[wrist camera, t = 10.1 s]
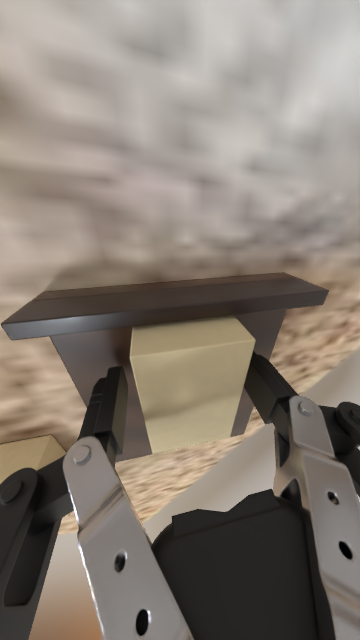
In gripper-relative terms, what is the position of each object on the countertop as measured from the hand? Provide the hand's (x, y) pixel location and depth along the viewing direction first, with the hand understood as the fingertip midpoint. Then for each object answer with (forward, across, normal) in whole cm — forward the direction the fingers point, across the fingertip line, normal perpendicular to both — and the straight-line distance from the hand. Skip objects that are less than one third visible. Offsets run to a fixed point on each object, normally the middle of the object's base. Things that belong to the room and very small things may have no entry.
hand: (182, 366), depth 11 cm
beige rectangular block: (+1, 0, 0) cm, 1 cm away
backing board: (+2, 0, +4) cm, 4 cm away
